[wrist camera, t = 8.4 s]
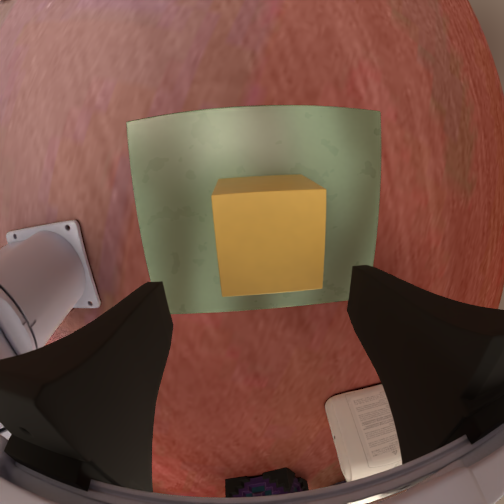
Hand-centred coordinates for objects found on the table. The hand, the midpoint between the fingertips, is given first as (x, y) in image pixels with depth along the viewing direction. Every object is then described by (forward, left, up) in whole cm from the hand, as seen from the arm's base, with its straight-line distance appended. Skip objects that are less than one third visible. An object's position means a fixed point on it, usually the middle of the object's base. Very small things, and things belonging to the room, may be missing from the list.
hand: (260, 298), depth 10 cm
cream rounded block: (+13, -23, -11) cm, 28 cm away
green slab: (+1, +1, -10) cm, 11 cm away
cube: (+1, +1, -6) cm, 6 cm away
